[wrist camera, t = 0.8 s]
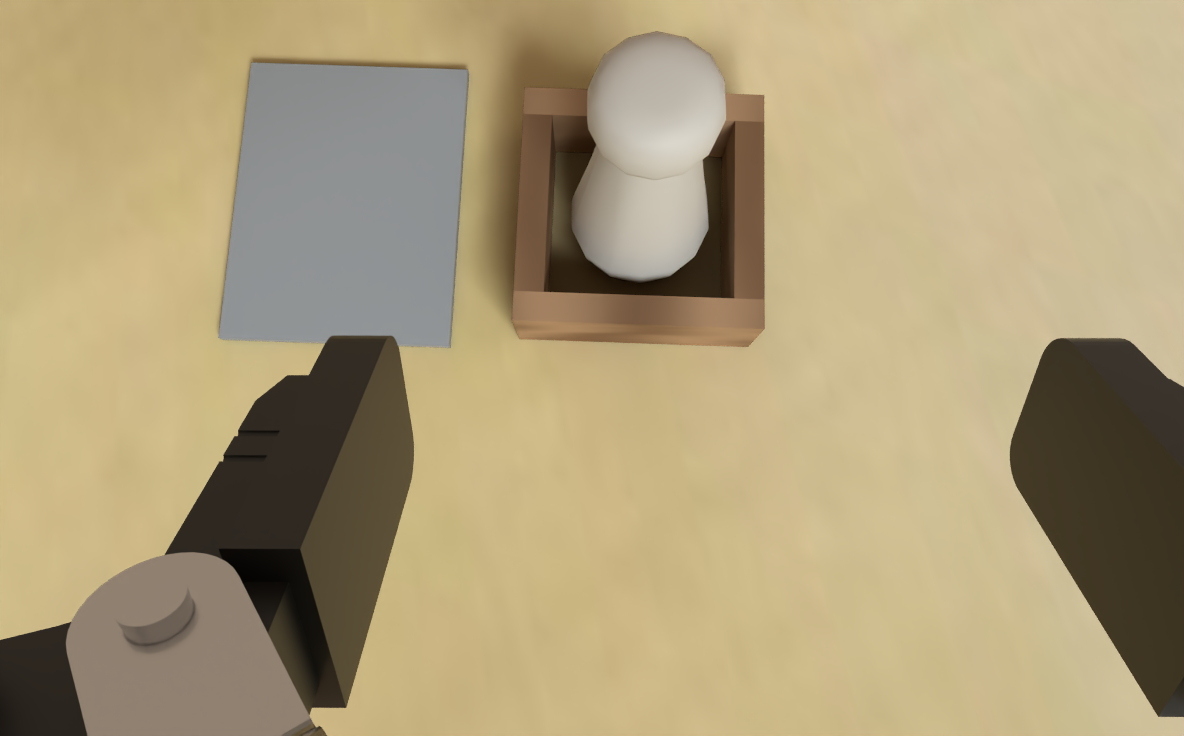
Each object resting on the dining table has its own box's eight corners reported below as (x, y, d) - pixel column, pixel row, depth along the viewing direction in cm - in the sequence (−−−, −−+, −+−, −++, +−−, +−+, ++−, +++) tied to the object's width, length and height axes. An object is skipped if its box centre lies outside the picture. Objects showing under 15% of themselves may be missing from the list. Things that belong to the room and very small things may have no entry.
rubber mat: (222, 339, 36) (218, 337, 36) (254, 67, 38) (251, 62, 38) (450, 347, 36) (448, 345, 35) (468, 74, 38) (467, 69, 38)
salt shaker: (607, 152, 37) (614, -36, 25) (721, 204, 37) (789, 39, 24) (550, 263, 37) (528, 127, 24) (667, 318, 36) (708, 208, 23)
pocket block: (519, 339, 36) (511, 320, 32) (530, 126, 38) (524, 87, 34) (747, 346, 36) (764, 328, 32) (748, 133, 38) (764, 95, 34)
